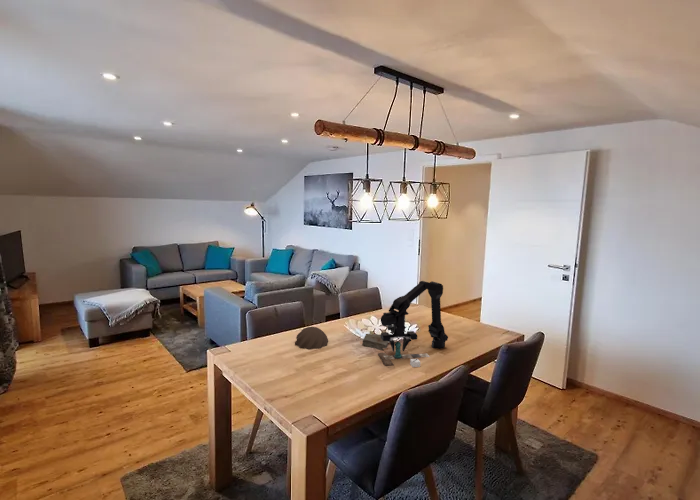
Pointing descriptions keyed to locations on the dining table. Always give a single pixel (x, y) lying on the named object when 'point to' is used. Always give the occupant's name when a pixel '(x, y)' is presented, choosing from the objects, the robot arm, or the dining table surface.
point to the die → (414, 362)
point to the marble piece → (374, 341)
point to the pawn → (397, 350)
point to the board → (388, 362)
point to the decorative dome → (311, 338)
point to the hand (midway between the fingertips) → (398, 351)
